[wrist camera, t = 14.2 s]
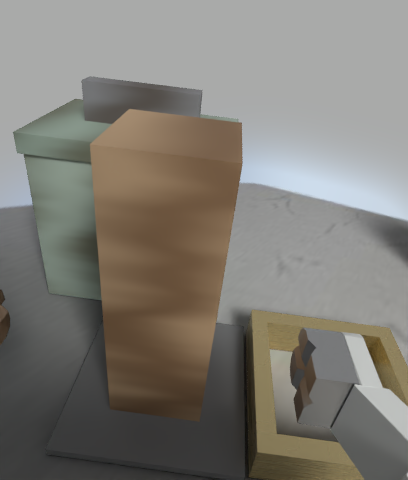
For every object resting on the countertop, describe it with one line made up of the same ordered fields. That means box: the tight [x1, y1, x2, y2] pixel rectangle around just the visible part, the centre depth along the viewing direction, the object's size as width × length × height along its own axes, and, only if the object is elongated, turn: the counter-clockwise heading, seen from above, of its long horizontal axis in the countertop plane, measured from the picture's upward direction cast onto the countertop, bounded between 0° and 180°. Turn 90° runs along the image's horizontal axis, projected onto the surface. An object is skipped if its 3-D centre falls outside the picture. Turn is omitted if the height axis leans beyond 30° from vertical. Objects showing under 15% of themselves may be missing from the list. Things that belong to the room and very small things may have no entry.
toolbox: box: [13, 77, 238, 300], centre depth 22 cm, size 10×8×12 cm
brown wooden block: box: [90, 109, 242, 422], centre depth 14 cm, size 4×4×12 cm
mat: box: [45, 320, 245, 480], centre depth 18 cm, size 8×8×1 cm
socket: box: [246, 310, 408, 480], centre depth 17 cm, size 8×8×2 cm
